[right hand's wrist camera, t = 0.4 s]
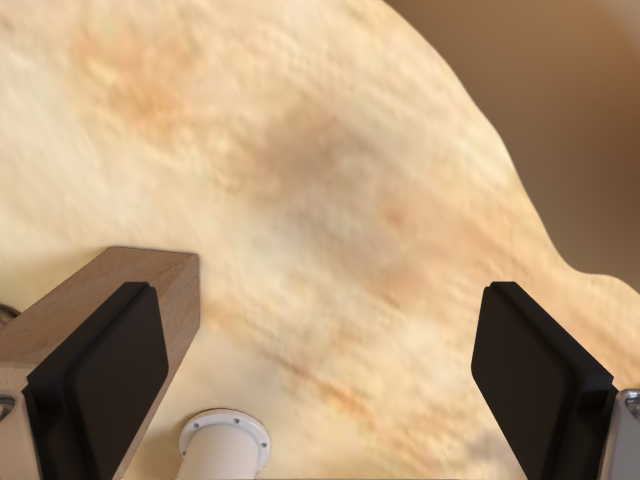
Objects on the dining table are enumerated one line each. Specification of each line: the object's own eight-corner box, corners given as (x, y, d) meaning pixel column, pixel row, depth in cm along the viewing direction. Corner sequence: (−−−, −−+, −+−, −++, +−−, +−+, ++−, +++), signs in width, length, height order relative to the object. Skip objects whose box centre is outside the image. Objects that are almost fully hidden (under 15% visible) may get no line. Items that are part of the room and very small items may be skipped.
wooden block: (117, 320, 47) (-17, 473, 28) (109, 244, 43) (-51, 362, 25) (200, 328, 47) (121, 484, 29) (199, 253, 44) (109, 376, 25)
